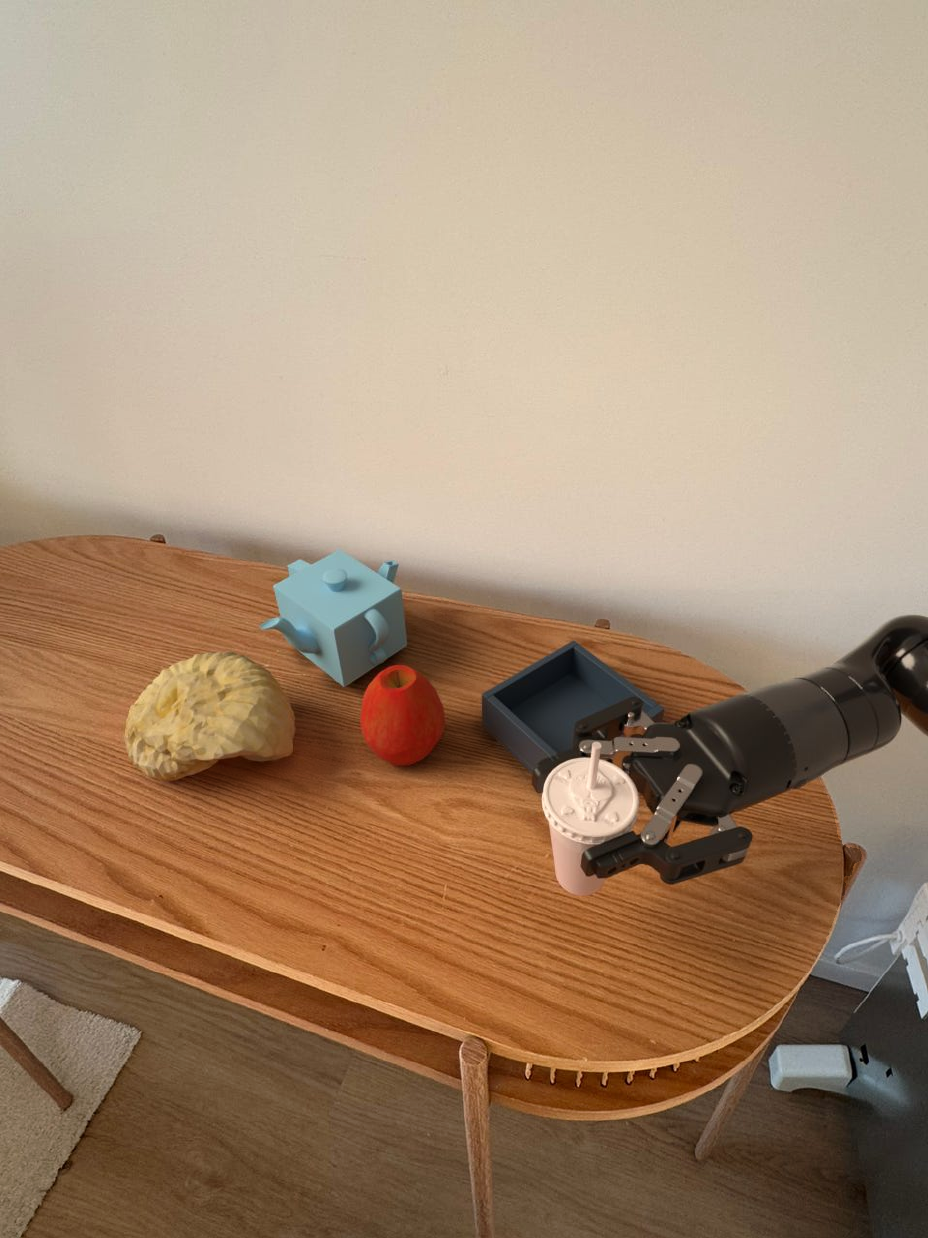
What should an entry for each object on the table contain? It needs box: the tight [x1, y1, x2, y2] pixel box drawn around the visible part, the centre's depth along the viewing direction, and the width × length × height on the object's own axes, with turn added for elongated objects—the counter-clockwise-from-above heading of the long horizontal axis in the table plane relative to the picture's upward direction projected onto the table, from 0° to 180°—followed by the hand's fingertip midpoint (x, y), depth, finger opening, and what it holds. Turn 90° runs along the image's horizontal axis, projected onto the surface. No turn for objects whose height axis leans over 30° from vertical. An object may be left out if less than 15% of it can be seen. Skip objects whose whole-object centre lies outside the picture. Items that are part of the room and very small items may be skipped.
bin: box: [481, 639, 666, 775], centre depth 73 cm, size 13×13×5 cm
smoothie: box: [541, 742, 640, 897], centre depth 50 cm, size 6×6×14 cm
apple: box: [359, 664, 446, 767], centre depth 70 cm, size 8×8×11 cm
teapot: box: [259, 549, 408, 688], centre depth 81 cm, size 16×18×11 cm
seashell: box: [123, 651, 296, 782], centre depth 71 cm, size 17×11×15 cm
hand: (558, 821), depth 49 cm, fingers closed on smoothie, 6 cm apart
